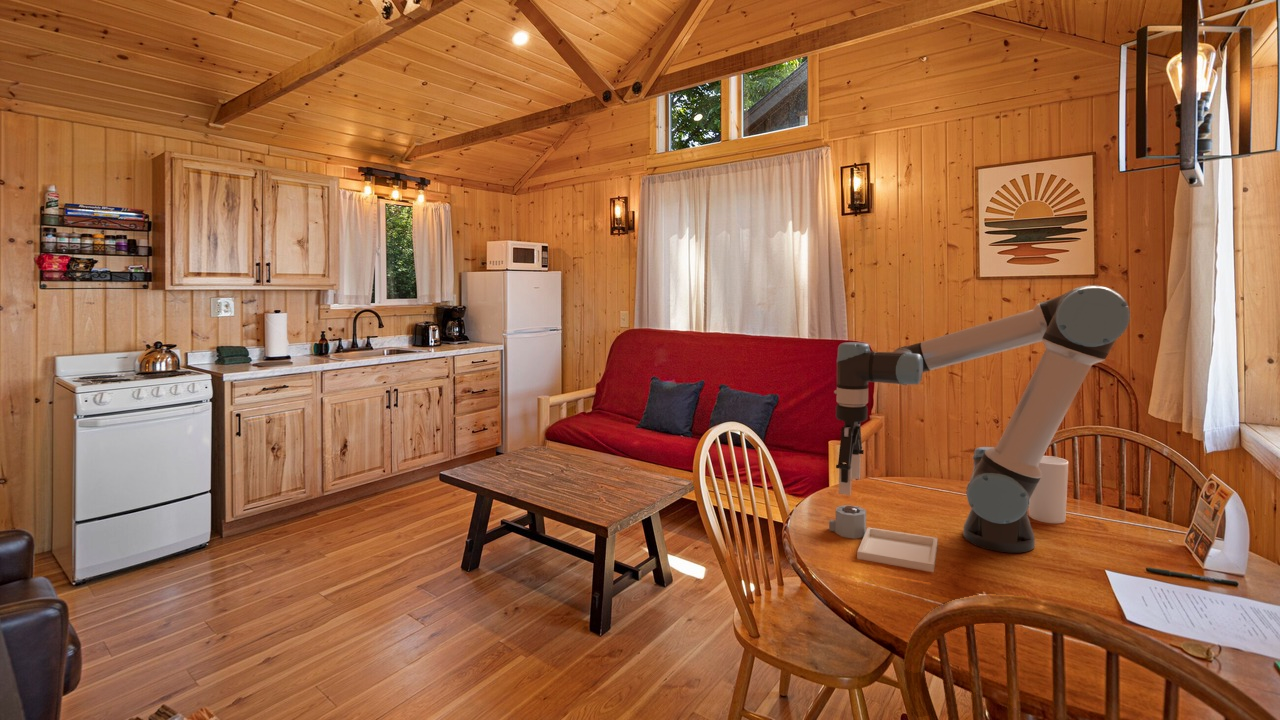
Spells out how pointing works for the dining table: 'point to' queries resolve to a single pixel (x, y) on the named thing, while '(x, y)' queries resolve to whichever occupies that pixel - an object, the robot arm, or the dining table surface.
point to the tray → (898, 549)
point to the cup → (1050, 491)
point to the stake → (850, 509)
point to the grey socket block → (849, 523)
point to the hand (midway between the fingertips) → (849, 486)
